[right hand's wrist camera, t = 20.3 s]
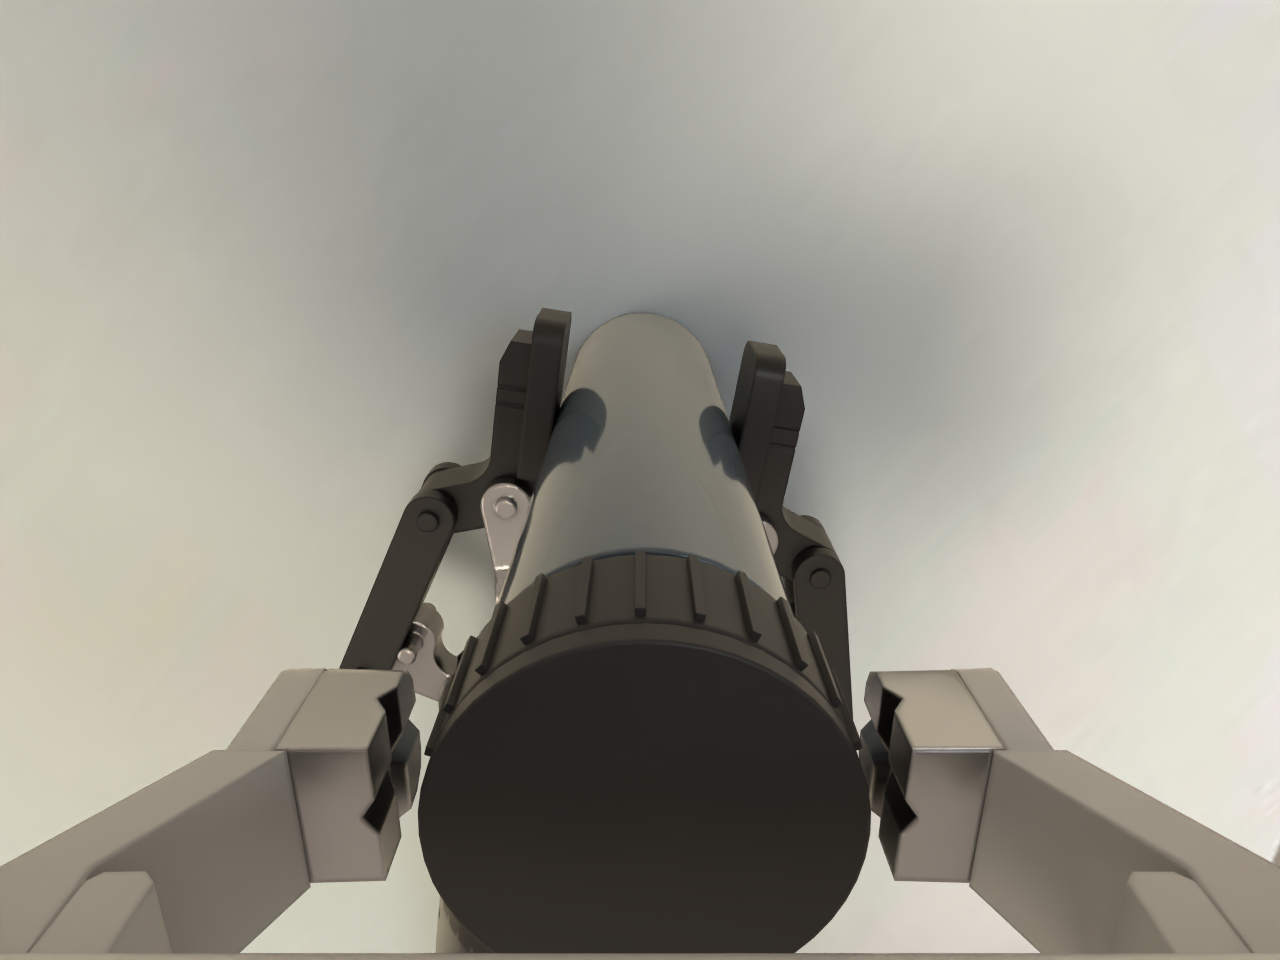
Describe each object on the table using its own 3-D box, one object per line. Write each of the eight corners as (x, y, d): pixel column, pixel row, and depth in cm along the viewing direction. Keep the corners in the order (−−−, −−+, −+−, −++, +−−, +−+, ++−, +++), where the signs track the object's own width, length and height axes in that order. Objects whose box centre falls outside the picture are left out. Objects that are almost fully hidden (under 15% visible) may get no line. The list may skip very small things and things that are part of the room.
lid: (390, 601, 10) (335, 699, 8) (794, 499, 9) (830, 580, 8) (519, 902, 11) (497, 1038, 10) (869, 827, 11) (913, 956, 9)
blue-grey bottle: (724, 431, 27) (869, 902, 10) (592, 461, 27) (512, 966, 10) (694, 297, 25) (805, 579, 8) (556, 331, 26) (390, 668, 9)
